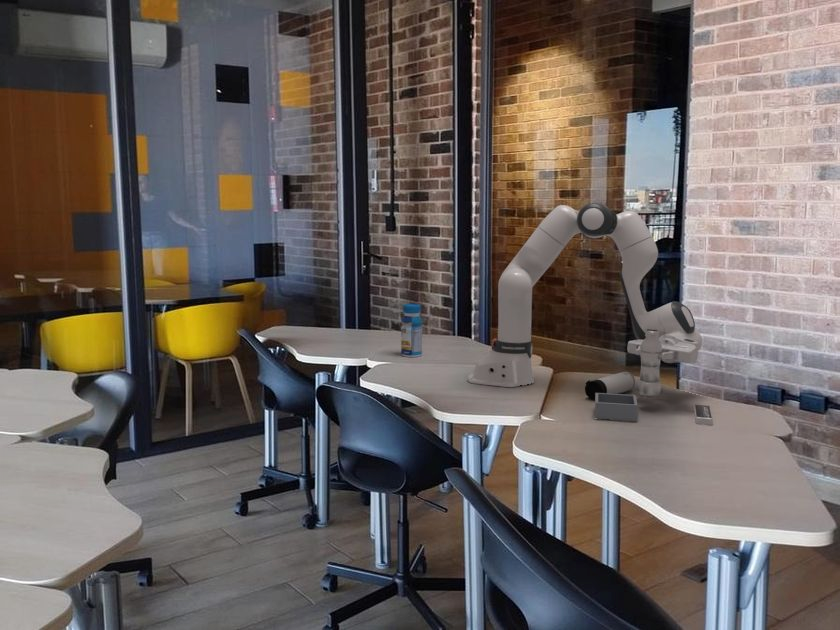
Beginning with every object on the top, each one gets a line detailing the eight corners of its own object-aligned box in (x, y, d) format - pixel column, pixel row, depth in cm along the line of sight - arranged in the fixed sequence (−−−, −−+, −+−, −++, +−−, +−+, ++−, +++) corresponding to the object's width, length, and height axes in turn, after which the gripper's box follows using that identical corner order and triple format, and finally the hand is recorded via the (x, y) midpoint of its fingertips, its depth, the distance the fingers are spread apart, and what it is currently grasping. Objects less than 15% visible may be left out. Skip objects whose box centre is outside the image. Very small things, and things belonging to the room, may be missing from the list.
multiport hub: (695, 425, 224) (695, 417, 224) (693, 411, 238) (694, 404, 237) (712, 426, 223) (712, 418, 222) (709, 413, 237) (709, 405, 236)
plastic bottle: (647, 400, 234) (651, 333, 230) (632, 394, 240) (635, 329, 236) (665, 397, 237) (668, 331, 233) (649, 391, 243) (653, 327, 239)
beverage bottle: (422, 357, 309) (422, 306, 305) (400, 357, 309) (400, 306, 306) (422, 353, 317) (422, 303, 314) (401, 353, 317) (401, 303, 314)
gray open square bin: (594, 419, 228) (595, 402, 227) (594, 408, 239) (595, 392, 238) (636, 421, 225) (637, 405, 225) (634, 411, 237) (635, 395, 236)
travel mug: (628, 366, 260) (593, 376, 246) (639, 384, 258) (604, 395, 244) (614, 376, 264) (579, 386, 250) (625, 393, 262) (590, 404, 248)
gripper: (640, 333, 252) (618, 338, 242) (703, 342, 238) (683, 349, 228) (638, 352, 253) (617, 359, 243) (701, 363, 239) (681, 370, 229)
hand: (649, 354), depth 236 cm, fingers closed on plastic bottle, 6 cm apart
